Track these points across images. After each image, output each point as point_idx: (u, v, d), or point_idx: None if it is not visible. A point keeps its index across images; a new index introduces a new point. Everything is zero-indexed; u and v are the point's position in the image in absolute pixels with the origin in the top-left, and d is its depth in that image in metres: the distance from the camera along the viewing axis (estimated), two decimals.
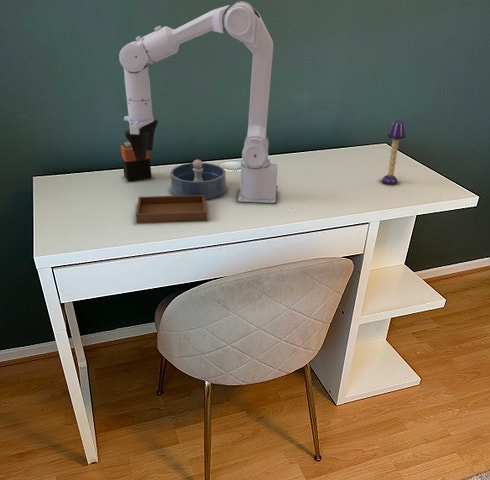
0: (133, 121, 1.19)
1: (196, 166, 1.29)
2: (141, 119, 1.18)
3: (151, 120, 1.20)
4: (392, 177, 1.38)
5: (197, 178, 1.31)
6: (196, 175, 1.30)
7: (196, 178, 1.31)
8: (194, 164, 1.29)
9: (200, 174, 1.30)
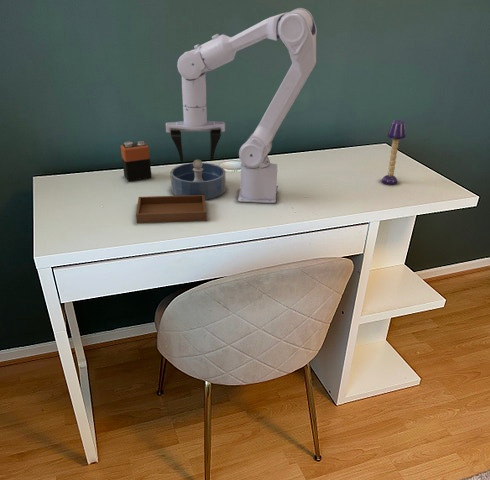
0: (183, 123, 1.24)
1: (196, 166, 1.29)
2: (184, 123, 1.23)
3: (191, 127, 1.21)
4: (392, 177, 1.38)
5: (197, 178, 1.31)
6: (196, 175, 1.30)
7: (196, 178, 1.31)
8: (194, 164, 1.29)
9: (200, 174, 1.30)
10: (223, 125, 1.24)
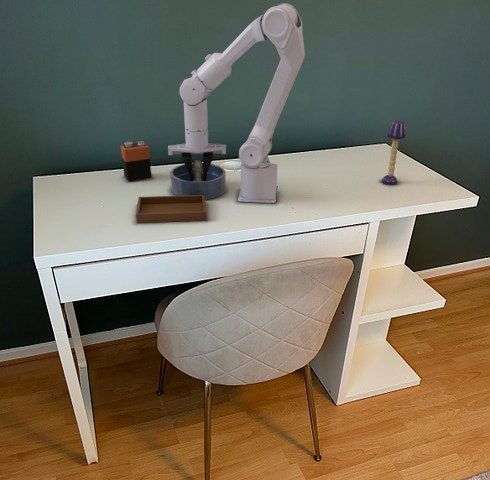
0: (185, 145, 1.28)
1: (196, 166, 1.29)
2: (186, 146, 1.26)
3: (192, 150, 1.25)
4: (392, 177, 1.38)
5: (197, 178, 1.31)
6: (196, 175, 1.30)
7: (196, 178, 1.31)
8: (194, 164, 1.29)
9: (200, 174, 1.30)
10: (224, 148, 1.27)
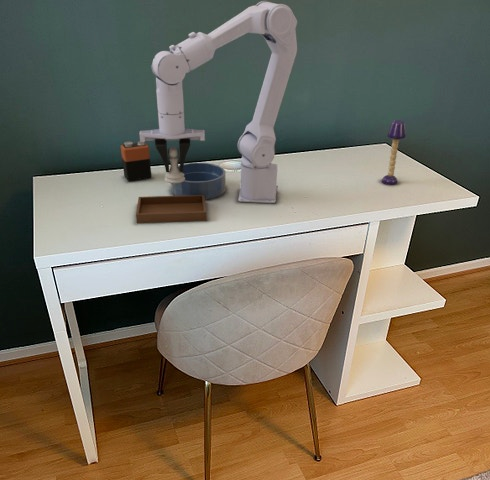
0: None
1: (171, 154, 1.15)
2: (159, 131, 1.12)
3: (166, 136, 1.11)
4: (392, 177, 1.38)
5: (173, 168, 1.17)
6: (172, 164, 1.17)
7: (172, 168, 1.17)
8: (169, 152, 1.15)
9: (176, 163, 1.17)
10: (202, 134, 1.13)
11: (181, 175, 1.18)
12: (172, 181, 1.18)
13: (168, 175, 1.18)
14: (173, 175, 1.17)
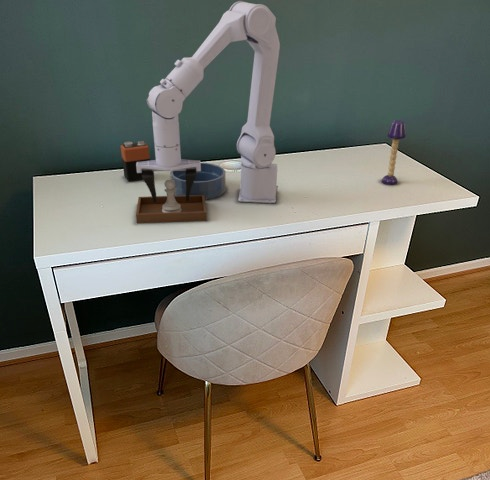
0: (156, 162, 1.15)
1: (168, 187, 1.17)
2: (156, 162, 1.13)
3: (163, 168, 1.12)
4: (392, 177, 1.38)
5: (170, 199, 1.19)
6: (168, 196, 1.18)
7: (168, 200, 1.19)
8: (166, 184, 1.17)
9: (173, 195, 1.18)
10: (198, 164, 1.15)
11: (178, 206, 1.20)
12: None
13: (165, 207, 1.19)
14: (169, 206, 1.19)
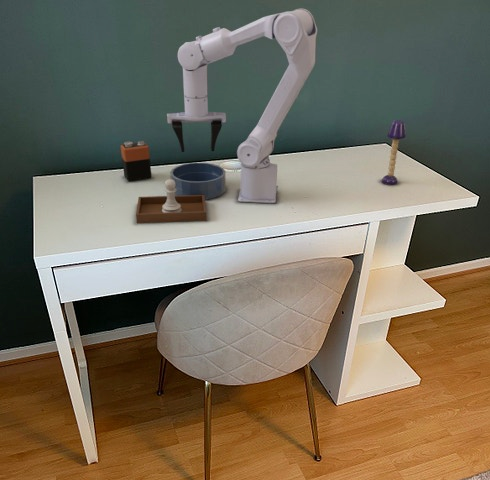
0: (184, 114, 1.25)
1: (168, 187, 1.17)
2: (185, 114, 1.24)
3: (192, 118, 1.22)
4: (392, 177, 1.38)
5: (170, 199, 1.19)
6: (168, 196, 1.18)
7: (168, 200, 1.19)
8: (166, 184, 1.17)
9: (173, 195, 1.18)
10: (224, 116, 1.25)
11: (178, 206, 1.20)
12: None
13: (165, 207, 1.19)
14: (169, 206, 1.19)
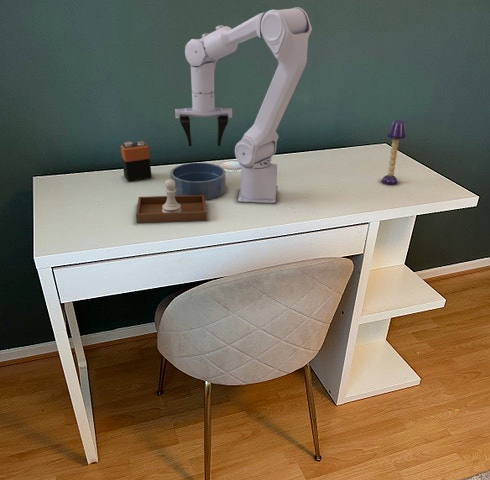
0: (192, 109, 1.29)
1: (168, 187, 1.17)
2: (193, 109, 1.27)
3: (199, 113, 1.26)
4: (392, 177, 1.38)
5: (170, 199, 1.19)
6: (168, 196, 1.18)
7: (168, 200, 1.19)
8: (166, 184, 1.17)
9: (173, 195, 1.18)
10: (230, 111, 1.29)
11: (178, 206, 1.20)
12: None
13: (165, 207, 1.19)
14: (169, 206, 1.19)
